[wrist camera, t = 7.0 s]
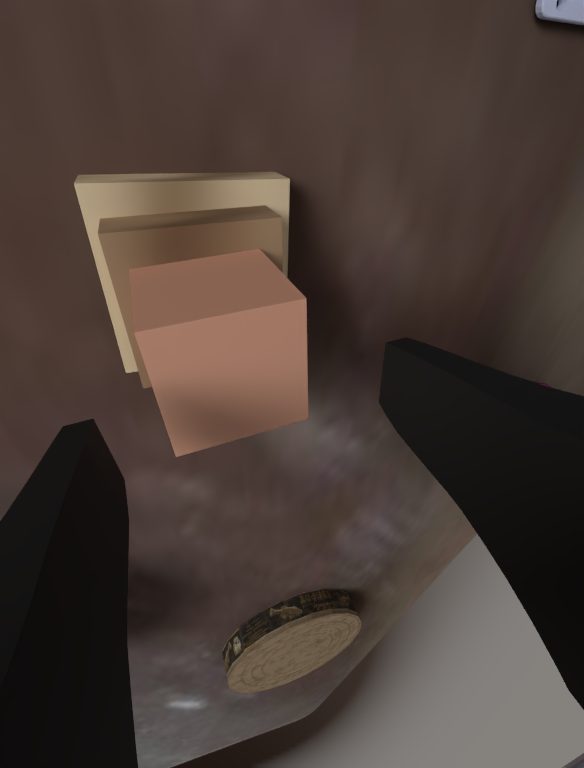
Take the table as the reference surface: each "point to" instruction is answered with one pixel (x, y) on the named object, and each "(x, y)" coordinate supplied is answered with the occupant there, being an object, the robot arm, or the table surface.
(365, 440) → the table surface
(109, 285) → the oak slab
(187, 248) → the tan wooden flat block
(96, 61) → the table surface
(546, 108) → the table surface
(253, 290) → the terracotta cube
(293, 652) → the wooden log round
